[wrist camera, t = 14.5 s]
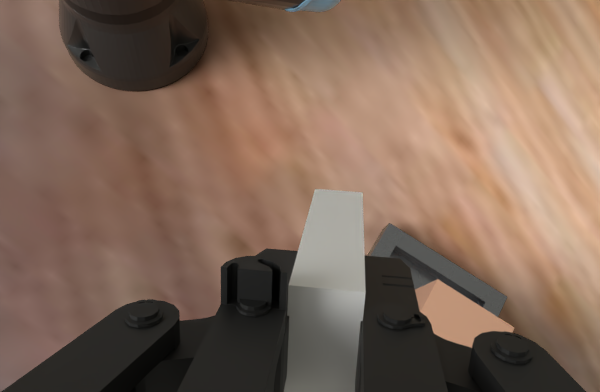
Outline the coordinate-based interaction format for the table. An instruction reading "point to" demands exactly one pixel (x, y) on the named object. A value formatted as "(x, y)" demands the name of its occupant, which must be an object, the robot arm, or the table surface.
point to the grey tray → (435, 268)
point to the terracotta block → (456, 314)
